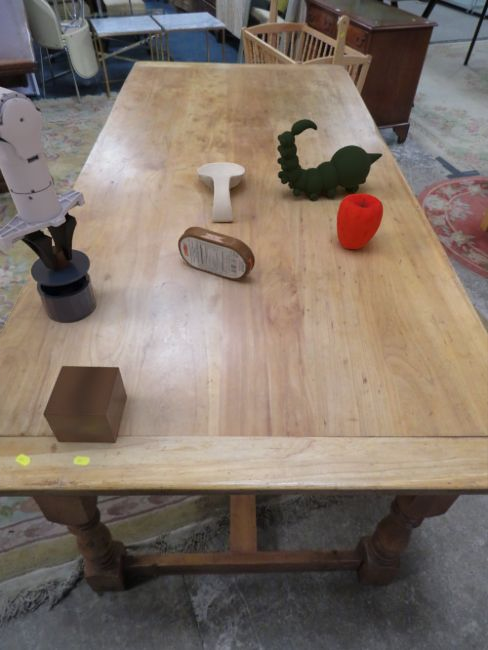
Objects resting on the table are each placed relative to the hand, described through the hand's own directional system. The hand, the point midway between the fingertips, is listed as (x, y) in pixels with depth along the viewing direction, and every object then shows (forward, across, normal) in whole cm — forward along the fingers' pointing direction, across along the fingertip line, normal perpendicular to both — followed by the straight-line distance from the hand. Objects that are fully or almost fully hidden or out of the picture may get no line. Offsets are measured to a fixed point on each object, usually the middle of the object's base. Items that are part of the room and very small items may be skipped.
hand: (59, 263), depth 69 cm
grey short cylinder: (+9, 0, 0) cm, 9 cm away
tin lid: (+1, 0, 0) cm, 1 cm away
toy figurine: (+10, +61, -21) cm, 66 cm away
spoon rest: (+10, +46, -1) cm, 47 cm away
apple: (+10, +44, -35) cm, 57 cm away
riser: (+9, -15, -19) cm, 26 cm away
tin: (+10, +21, -16) cm, 28 cm away
